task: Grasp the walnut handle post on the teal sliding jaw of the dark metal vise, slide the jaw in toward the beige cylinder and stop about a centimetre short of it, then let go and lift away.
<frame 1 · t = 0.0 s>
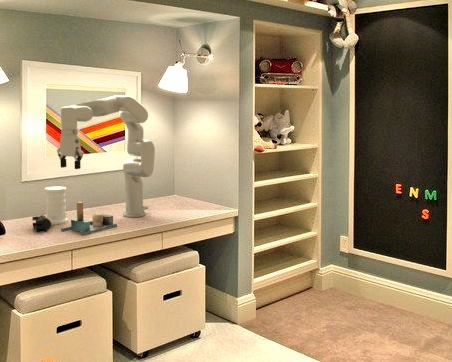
hand: (70, 168, 272), 31 cm above the table, tool pointing down, fingers open, 9 cm apart
beige cylinder: (97, 226, 287), resting in vise frame
vise frame: (134, 215, 314), on the table
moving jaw: (80, 216, 276), point 7 cm above the table, slide at 0.0 cm
decorative container: (56, 222, 296), on the table
end cap: (42, 230, 279), on the table
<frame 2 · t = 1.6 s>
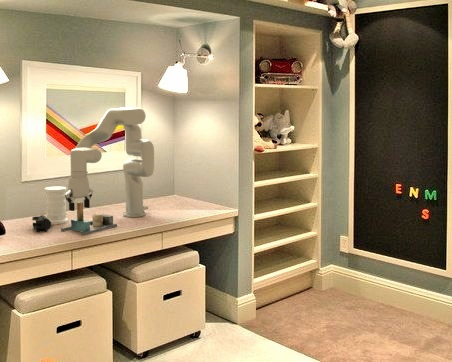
hand: (79, 209, 275), 11 cm above the table, tool pointing down, fingers open, 9 cm apart
nothing on the table moved.
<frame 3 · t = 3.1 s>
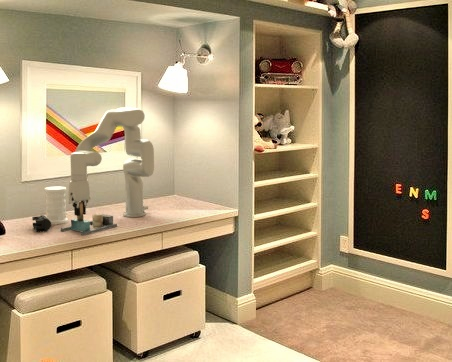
hand: (80, 214, 276), 8 cm above the table, tool pointing down, fingers closed on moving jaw, 3 cm apart
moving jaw: (80, 216, 276), point 7 cm above the table, slide at 0.0 cm, touching gripper
everything else where it was.
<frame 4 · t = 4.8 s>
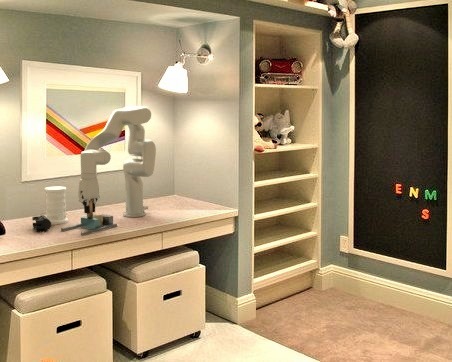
hand: (89, 212, 281), 8 cm above the table, tool pointing down, fingers closed on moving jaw, 3 cm apart
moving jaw: (89, 214, 281), point 7 cm above the table, slide at 6.4 cm, touching gripper
everything else where it was.
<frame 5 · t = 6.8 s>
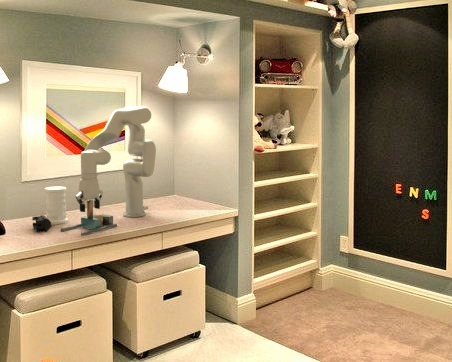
hand: (89, 210, 281), 9 cm above the table, tool pointing down, fingers open, 9 cm apart
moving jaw: (90, 214, 282), point 7 cm above the table, slide at 6.5 cm
everything else where it was.
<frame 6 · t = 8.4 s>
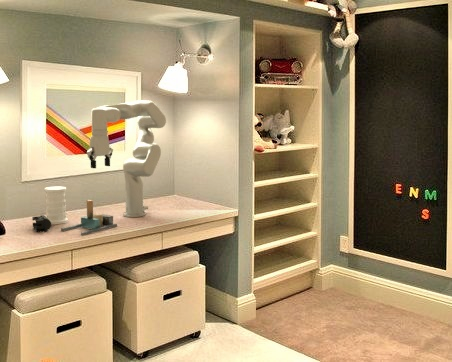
hand: (100, 167, 285), 30 cm above the table, tool pointing down, fingers open, 9 cm apart
nothing on the table moved.
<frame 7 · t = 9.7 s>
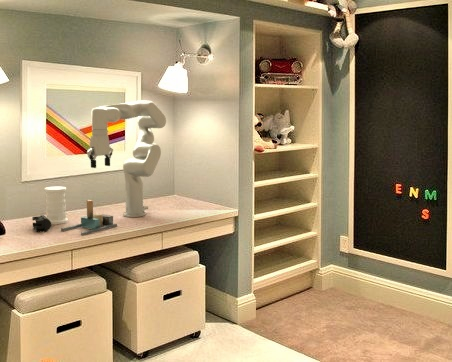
hand: (100, 166, 285), 30 cm above the table, tool pointing down, fingers open, 9 cm apart
nothing on the table moved.
at the end: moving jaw slide at 6.5 cm; beige cylinder moved 0.1 cm from its start; the gripper is holding nothing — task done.
